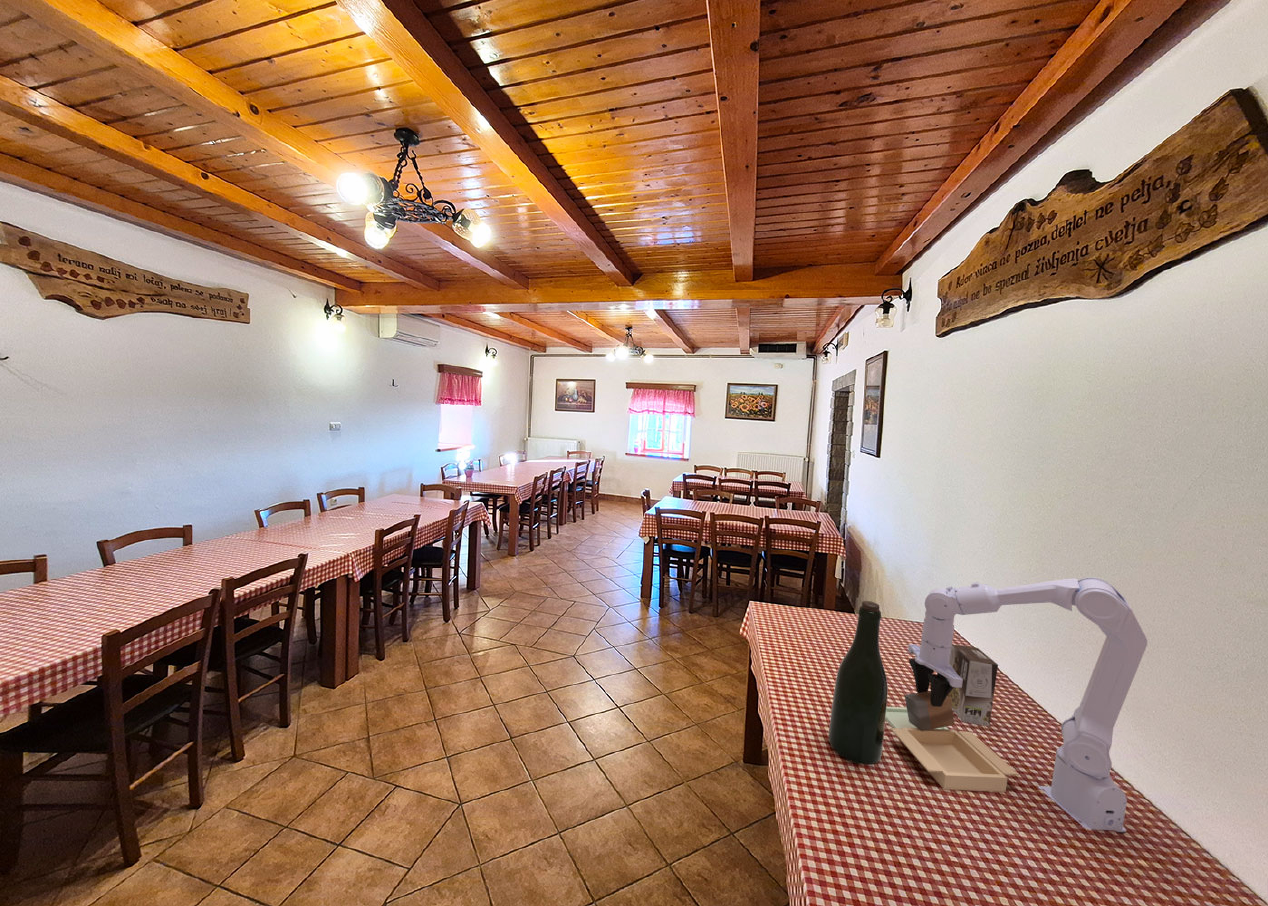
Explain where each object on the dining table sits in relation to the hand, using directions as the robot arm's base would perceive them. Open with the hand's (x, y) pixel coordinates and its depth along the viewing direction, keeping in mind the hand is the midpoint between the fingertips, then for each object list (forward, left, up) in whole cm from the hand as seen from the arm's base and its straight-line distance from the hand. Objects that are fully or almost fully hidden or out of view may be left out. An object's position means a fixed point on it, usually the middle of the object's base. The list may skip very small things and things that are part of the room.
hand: (928, 698), depth 102 cm
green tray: (+4, 0, -10) cm, 10 cm away
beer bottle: (-5, +19, -10) cm, 22 cm away
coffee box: (+9, -18, -10) cm, 22 cm away
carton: (-9, +1, -10) cm, 13 cm away
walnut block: (-1, -1, -5) cm, 5 cm away
